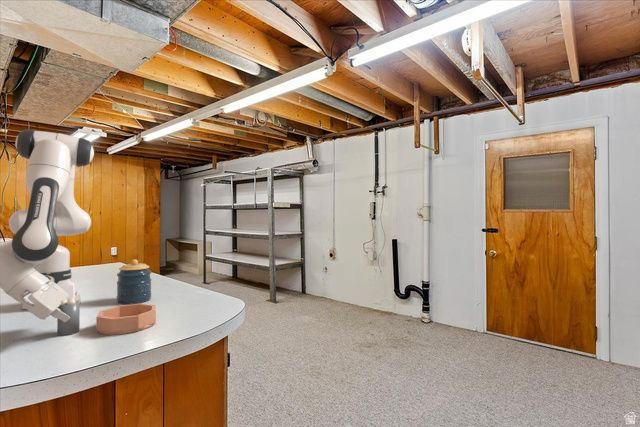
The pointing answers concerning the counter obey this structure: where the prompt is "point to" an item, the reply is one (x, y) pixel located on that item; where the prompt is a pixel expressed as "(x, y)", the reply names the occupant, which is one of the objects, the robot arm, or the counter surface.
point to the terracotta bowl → (126, 319)
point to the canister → (134, 283)
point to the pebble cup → (74, 322)
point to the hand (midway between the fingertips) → (71, 316)
